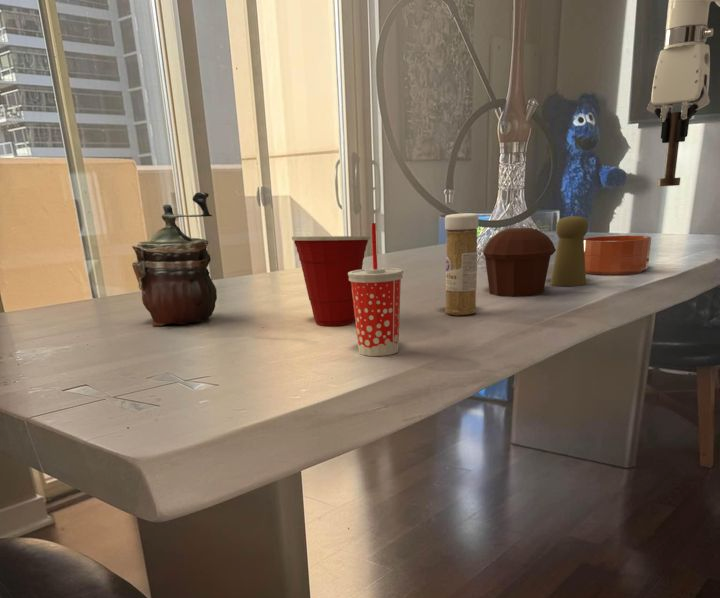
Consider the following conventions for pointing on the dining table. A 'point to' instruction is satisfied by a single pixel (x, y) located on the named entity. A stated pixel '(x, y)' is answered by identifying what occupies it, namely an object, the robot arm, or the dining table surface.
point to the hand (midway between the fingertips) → (673, 141)
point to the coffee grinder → (176, 272)
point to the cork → (570, 252)
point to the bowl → (616, 254)
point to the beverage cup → (376, 306)
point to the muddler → (671, 154)
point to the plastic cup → (331, 275)
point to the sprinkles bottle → (461, 263)
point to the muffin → (518, 262)
